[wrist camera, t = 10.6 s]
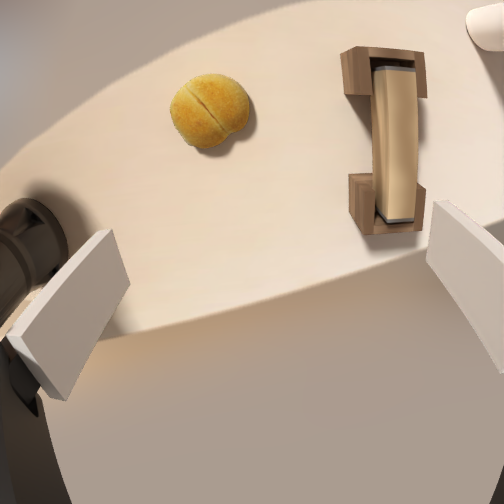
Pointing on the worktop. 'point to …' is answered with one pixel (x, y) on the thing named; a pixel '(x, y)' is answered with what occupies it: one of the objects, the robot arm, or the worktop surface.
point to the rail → (394, 141)
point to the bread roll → (209, 109)
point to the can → (487, 26)
